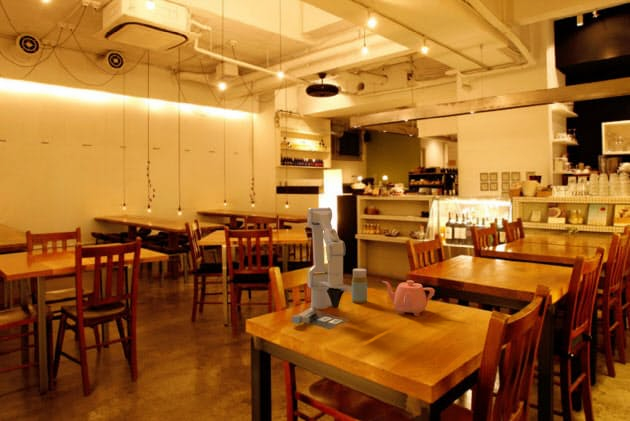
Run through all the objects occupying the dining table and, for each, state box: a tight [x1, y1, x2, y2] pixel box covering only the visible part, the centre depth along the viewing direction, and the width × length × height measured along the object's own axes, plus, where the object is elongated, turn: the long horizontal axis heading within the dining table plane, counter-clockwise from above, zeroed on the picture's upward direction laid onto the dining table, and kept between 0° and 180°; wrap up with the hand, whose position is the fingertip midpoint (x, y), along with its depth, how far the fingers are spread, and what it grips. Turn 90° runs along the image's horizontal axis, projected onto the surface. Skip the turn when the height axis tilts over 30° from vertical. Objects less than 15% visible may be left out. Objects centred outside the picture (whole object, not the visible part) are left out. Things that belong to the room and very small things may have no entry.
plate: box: [302, 312, 350, 330], centre depth 170 cm, size 14×16×1 cm
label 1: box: [318, 317, 332, 322], centre depth 171 cm, size 5×4×1 cm
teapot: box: [381, 279, 436, 317], centre depth 184 cm, size 16×17×14 cm
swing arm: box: [291, 306, 318, 325], centre depth 169 cm, size 16×3×3 cm, turn 153°
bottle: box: [351, 267, 368, 304], centre depth 200 cm, size 7×7×15 cm
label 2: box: [328, 319, 343, 325], centre depth 168 cm, size 5×4×1 cm
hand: (335, 307), depth 168 cm, fingers closed
